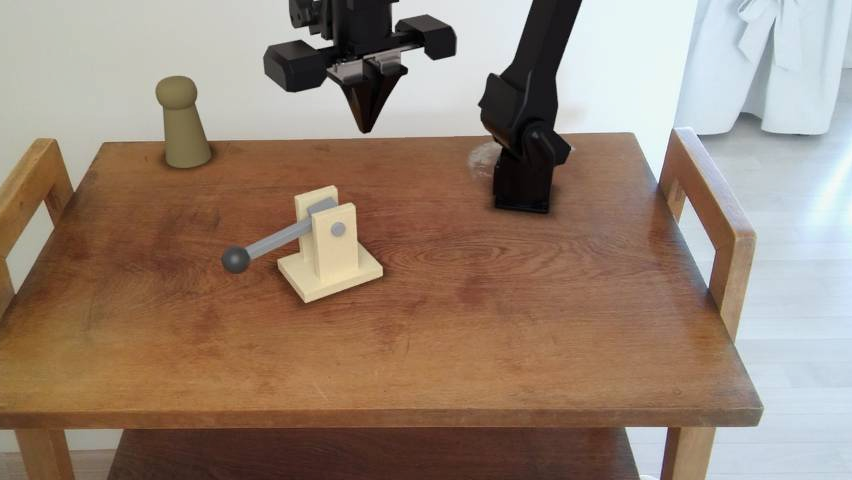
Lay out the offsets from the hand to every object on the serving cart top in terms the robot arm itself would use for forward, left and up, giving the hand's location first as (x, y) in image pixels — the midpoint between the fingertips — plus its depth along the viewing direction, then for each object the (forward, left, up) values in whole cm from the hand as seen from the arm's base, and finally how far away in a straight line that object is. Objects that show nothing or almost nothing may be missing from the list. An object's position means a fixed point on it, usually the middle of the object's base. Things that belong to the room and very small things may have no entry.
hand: (364, 131), depth 79 cm
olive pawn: (+29, -13, -13) cm, 34 cm away
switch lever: (+6, +11, -8) cm, 15 cm away
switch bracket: (+2, +8, -13) cm, 15 cm away
